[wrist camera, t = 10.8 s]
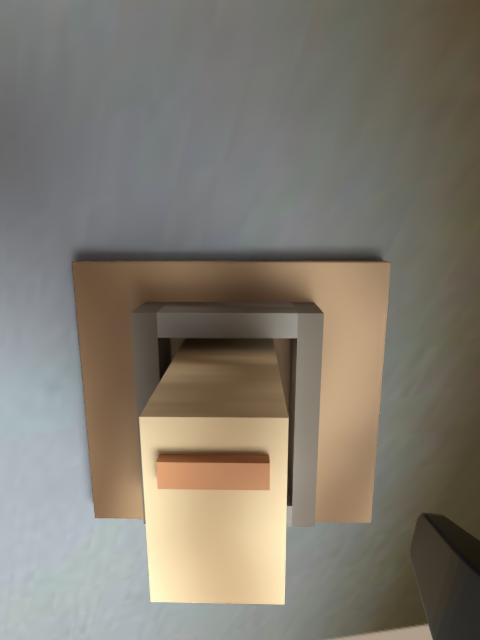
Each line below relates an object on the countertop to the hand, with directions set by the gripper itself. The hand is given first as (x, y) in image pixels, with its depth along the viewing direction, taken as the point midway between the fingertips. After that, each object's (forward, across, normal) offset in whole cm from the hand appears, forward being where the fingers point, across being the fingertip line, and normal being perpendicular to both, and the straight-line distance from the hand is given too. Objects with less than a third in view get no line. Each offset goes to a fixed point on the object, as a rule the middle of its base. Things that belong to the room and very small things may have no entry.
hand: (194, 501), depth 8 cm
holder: (+12, -1, +3) cm, 12 cm away
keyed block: (+11, 0, +3) cm, 11 cm away
